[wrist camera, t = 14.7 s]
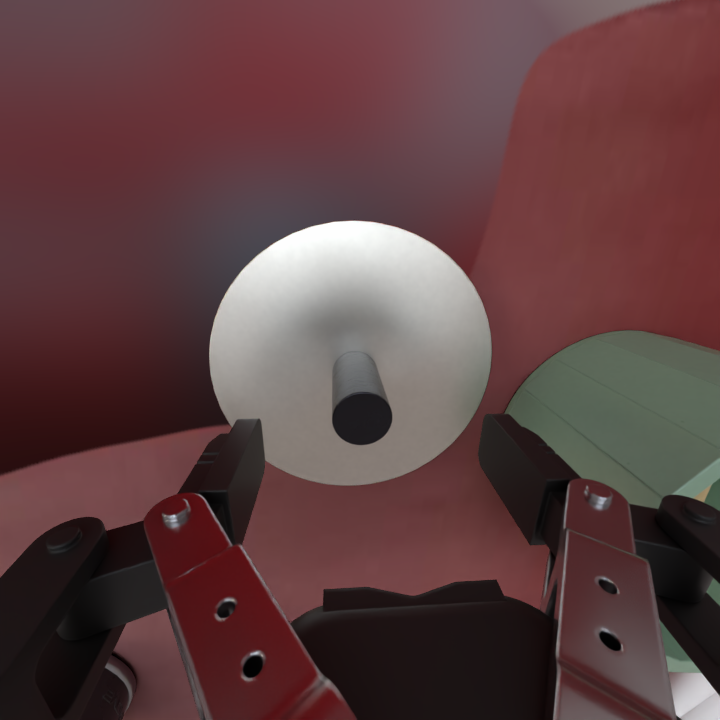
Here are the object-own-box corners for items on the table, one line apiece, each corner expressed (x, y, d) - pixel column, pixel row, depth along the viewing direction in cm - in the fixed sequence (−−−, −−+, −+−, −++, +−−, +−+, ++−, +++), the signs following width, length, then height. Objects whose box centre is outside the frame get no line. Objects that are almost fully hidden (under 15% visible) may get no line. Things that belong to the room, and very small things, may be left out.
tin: (483, 518, 24) (573, 687, 15) (515, 329, 19) (676, 410, 10) (661, 508, 25) (846, 661, 16) (734, 327, 20) (1058, 398, 11)
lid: (234, 478, 21) (196, 570, 15) (195, 219, 16) (115, 208, 10) (466, 468, 22) (514, 550, 16) (501, 222, 17) (589, 214, 11)
